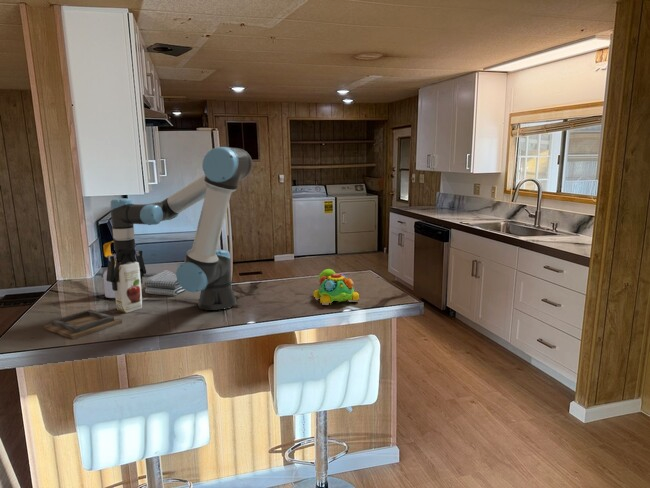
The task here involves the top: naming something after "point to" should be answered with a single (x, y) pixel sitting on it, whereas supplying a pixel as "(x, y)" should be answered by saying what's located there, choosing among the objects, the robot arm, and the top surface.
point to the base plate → (82, 324)
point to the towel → (163, 284)
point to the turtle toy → (335, 287)
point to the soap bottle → (107, 285)
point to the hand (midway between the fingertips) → (128, 295)
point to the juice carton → (129, 287)
